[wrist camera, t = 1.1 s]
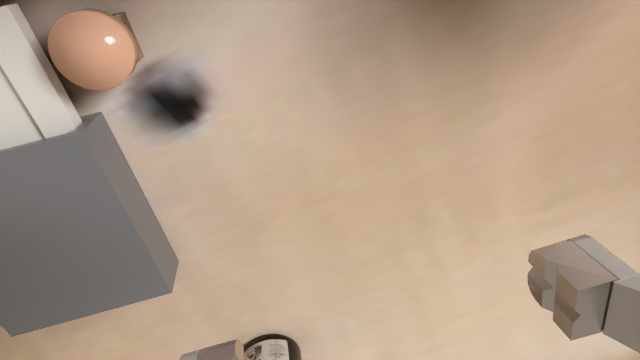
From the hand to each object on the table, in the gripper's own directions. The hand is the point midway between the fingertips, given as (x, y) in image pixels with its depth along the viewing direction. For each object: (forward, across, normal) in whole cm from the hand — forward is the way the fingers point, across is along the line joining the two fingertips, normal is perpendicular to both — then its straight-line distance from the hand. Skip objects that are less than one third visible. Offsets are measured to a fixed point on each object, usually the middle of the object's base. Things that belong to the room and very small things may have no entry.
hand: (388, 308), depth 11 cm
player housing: (+33, +28, +10) cm, 45 cm away
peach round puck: (+29, +15, -6) cm, 33 cm away
